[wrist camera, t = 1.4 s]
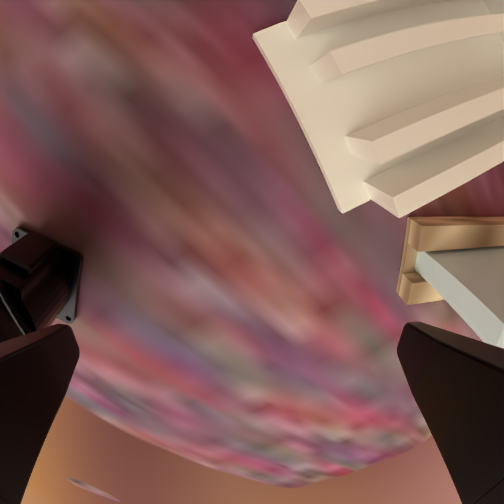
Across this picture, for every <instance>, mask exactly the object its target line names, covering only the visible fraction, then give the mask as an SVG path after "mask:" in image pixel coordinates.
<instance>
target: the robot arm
mask: <svg viewBox="0 0 504 504" xmlns="http://www.w3.org/2000/svg"><path fill="white" fill-rule="evenodd" d="M18 233H19V235H20V236H19V235H18ZM74 257H75V258H76V259H77V261H76V260H75V259H74ZM81 267H82V255H81V254H80V253H79V252H77V251H74V250H72V249H70V248H67V247H65V246H63V245H60V244H58V243H57V242H56V241H54V240H51V239H49V238H47V237H45V236H42V235H40V234H38V233H36V232H33V231H28V230H26V229H24V228H22V227H17V228H15V229H14V230H13V235H12V245H10V246H9V247H8V248H6V249H5V250H4V251H2V252H1V253H0V504H21V501H22V498H23V495H24V492H25V489H26V486H27V484H28V481H29V478H30V476H31V473H32V471H33V468H34V465H35V463H36V460H37V457H38V455H39V453H40V451H41V448H42V446H43V443H44V441H45V439H46V436H47V434H48V432H49V430H50V427H51V425H52V423H53V420H54V418H55V416H56V414H57V412H58V410H59V408H60V405H61V403H62V401H63V399H64V397H65V394H66V392H67V389H68V386H69V383H70V381H71V378H72V375H73V372H74V370H75V367H76V364H77V362H78V359H79V347H78V344H77V342H76V339H75V336H74V334H73V331H72V328H71V327H70V326H69V325H64V324H55V325H52V326H50V325H51V324H52V323H53V321H54V320H55V319H56V318H58V319H61V320H63V321H65V322H67V323H73V322H74V320H75V318H76V307H77V297H78V289H79V281H80V274H81ZM68 316H69V317H70V318H69V317H68ZM397 355H398V358H399V360H400V363H401V366H402V368H403V371H404V373H405V376H406V379H407V381H408V384H409V387H410V389H411V392H412V394H413V396H414V399H415V401H416V403H417V405H418V407H419V409H420V411H421V413H422V415H423V417H424V419H425V421H426V423H427V425H428V427H429V429H430V431H431V433H432V435H433V437H434V439H435V442H436V444H437V446H438V448H439V450H440V453H441V455H442V457H443V459H444V462H445V464H446V466H447V468H448V471H449V473H450V475H451V478H452V480H453V482H454V485H455V487H456V490H457V492H458V494H459V497H460V499H461V502H462V504H504V349H503V348H500V347H497V346H494V345H491V344H488V343H484V342H481V341H478V340H475V339H472V338H469V337H465V336H462V335H459V334H456V333H453V332H450V331H447V330H444V329H440V328H437V327H434V326H431V325H428V324H425V323H422V322H409V323H407V324H405V326H404V328H403V331H402V334H401V337H400V340H399V343H398V347H397Z"/></svg>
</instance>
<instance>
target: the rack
mask: <svg viewBox="0 0 504 504" xmlns="http://www.w3.org/2000/svg"><path fill="white" fill-rule="evenodd" d="M252 38H253V40H254V42H255V43H256V45H257V47H258V48H259V50H260V52H261V54H262V55H263V57H264V59H265V61H266V62H267V64H268V66H269V68H270V70H271V71H272V73H273V75H274V77H275V79H276V80H277V82H278V84H279V86H280V88H281V90H282V92H283V93H284V95H285V97H286V99H287V101H288V103H289V105H290V107H291V109H292V111H293V113H294V115H295V117H296V119H297V121H298V123H299V125H300V127H301V129H302V131H303V133H304V135H305V137H306V139H307V141H308V143H309V145H310V147H311V149H312V152H313V154H314V156H315V158H316V160H317V162H318V165H319V167H320V169H321V171H322V173H323V176H324V178H325V180H326V182H327V185H328V187H329V189H330V192H331V194H332V196H333V199H334V201H335V203H336V206H337V208H338V210H339V211H340V212H341V213H345V212H347V211H349V210H351V209H353V208H355V207H357V206H359V205H361V204H363V203H365V202H367V201H369V200H373V201H374V202H376V203H377V204H379V205H380V206H382V207H383V208H385V209H386V210H388V211H389V212H391V213H392V214H393V215H395V216H396V217H398V218H401V217H403V216H405V215H406V214H408V213H410V212H412V211H414V210H416V209H418V208H420V207H422V206H424V205H425V204H427V203H429V202H431V201H433V200H435V199H437V198H438V197H440V196H442V195H444V194H446V193H448V192H450V191H451V190H453V189H455V188H457V187H459V186H461V185H462V184H464V183H466V182H468V181H470V180H471V179H473V178H475V177H477V176H479V175H480V174H482V173H484V172H486V171H487V170H489V169H491V168H493V167H495V166H496V165H498V164H500V163H502V162H503V161H504V0H297V2H296V4H295V6H294V8H293V10H292V12H291V13H290V15H289V17H288V19H287V21H284V22H281V23H279V24H276V25H273V26H271V27H268V28H266V29H263V30H261V31H258V32H256V33H253V37H252Z"/></svg>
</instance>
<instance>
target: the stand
mask: <svg viewBox="0 0 504 504" xmlns="http://www.w3.org/2000/svg"><path fill="white" fill-rule="evenodd" d="M493 246H504V217H408V219H407V227H406V235H405V242H404V249H403V255H402V261H401V267H400V273H399V278H398V284H397V289H396V292H397V293H398V295H399V296H400V297H401V298H402V299H403V301H404V302H405V303H406V304H407V305H411V304H418V303H425V302H431V301H438V300H444V298H443V297H442V296H441V295H440V294H439V293H438V292H437V291H436V290H435V289H434V288H433V287H432V286H431V285H430V284H429V283H428V282H427V281H426V280H425V279H424V278H423V277H422V276H421V275H420V274H419V273H418V272H417V271H416V270H415V264H416V258H417V252H423V251H438V250H452V249H466V248H480V247H493Z"/></svg>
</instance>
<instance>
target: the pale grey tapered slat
mask: <svg viewBox="0 0 504 504" xmlns="http://www.w3.org/2000/svg"><path fill="white" fill-rule="evenodd" d="M415 270H416V271H417V272H418V273H419V274H420V275H421V276H422V277H423V278H424V279H425V280H426V281H427V282H428V283H429V284H430V285H431V286H432V287H433V288H434V289H435V290H436V291H437V292H438V293H439V294H440V295H441V296H442V297H443V298H444V299H445V300H446V301H447V302H448V303H449V304H450V306H451V307H452V308H453V309H454V310H455V311H456V312H457V313H458V314H459V315H460V316H461V317H462V318H463V319H464V321H465V322H466V323H467V324H468V325H469V326H470V327H471V328H472V329H473V331H474V332H475V333H476V334H477V335H478V336H479V337H480V338H481V340H482V341H483V342H484V343H488V344H491V345H494V346H497V347H500V348H503V349H504V246H493V247H480V248H466V249H452V250H438V251H423V252H417V258H416V264H415Z"/></svg>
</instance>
